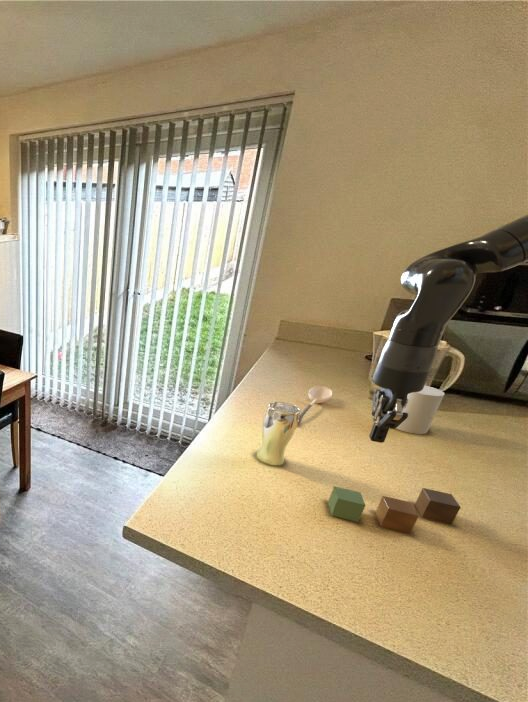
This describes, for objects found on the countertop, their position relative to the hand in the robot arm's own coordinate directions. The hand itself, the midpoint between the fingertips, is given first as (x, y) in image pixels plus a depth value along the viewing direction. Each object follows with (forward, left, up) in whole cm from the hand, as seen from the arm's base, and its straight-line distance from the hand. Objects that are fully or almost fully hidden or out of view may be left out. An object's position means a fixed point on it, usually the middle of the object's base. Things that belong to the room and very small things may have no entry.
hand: (376, 440), depth 83 cm
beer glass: (+16, -7, -14) cm, 23 cm away
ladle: (+4, -44, -14) cm, 46 cm away
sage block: (+4, +9, -14) cm, 17 cm away
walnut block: (-13, +1, -14) cm, 19 cm away
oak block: (-5, +8, -14) cm, 17 cm away
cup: (-20, -44, -14) cm, 50 cm away
